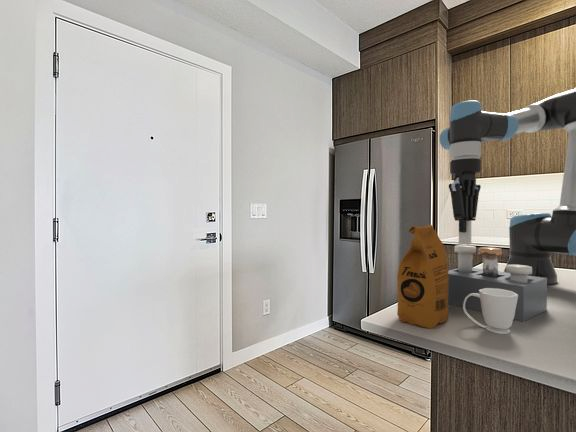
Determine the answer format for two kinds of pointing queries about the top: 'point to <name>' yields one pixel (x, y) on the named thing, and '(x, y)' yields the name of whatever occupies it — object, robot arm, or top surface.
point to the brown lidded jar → (490, 261)
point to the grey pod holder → (529, 293)
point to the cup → (496, 309)
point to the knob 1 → (465, 258)
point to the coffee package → (423, 280)
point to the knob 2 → (519, 272)
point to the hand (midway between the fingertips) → (464, 244)
